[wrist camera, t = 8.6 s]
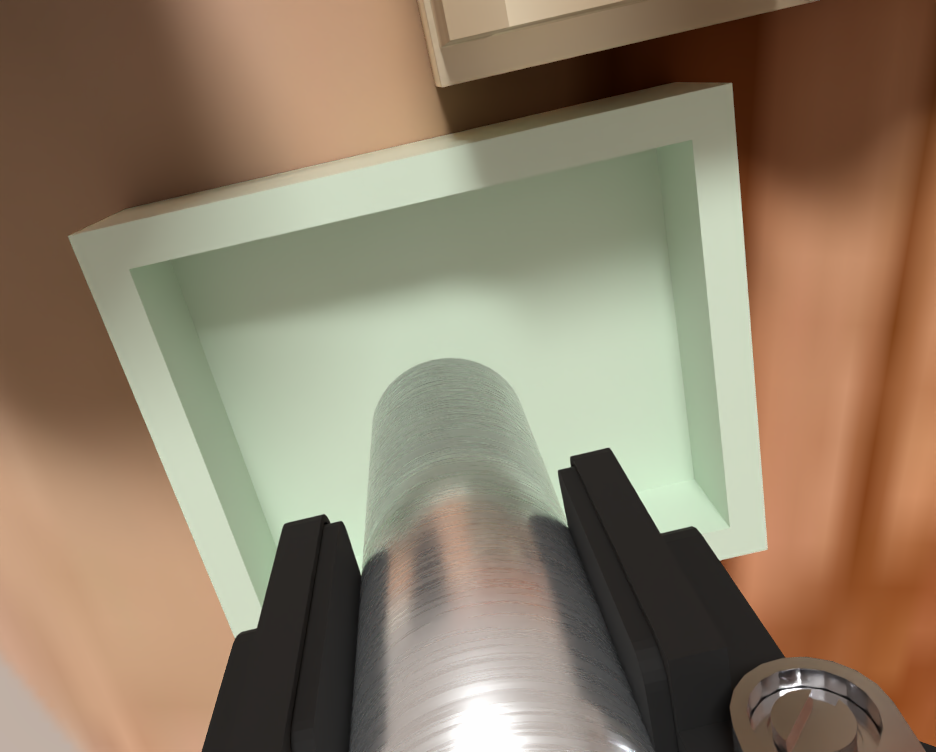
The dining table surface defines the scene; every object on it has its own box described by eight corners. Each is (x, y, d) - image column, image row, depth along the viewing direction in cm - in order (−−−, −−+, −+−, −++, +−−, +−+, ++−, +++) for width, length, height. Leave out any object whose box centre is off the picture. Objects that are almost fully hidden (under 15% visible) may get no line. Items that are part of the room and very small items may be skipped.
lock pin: (516, 329, 14) (824, 949, 4) (548, 484, 16) (840, 1255, 5) (340, 370, 14) (202, 1095, 4) (385, 522, 16) (365, 1369, 5)
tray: (675, 82, 16) (732, 82, 13) (716, 483, 20) (767, 549, 17) (125, 208, 16) (67, 235, 13) (268, 585, 20) (247, 667, 17)
